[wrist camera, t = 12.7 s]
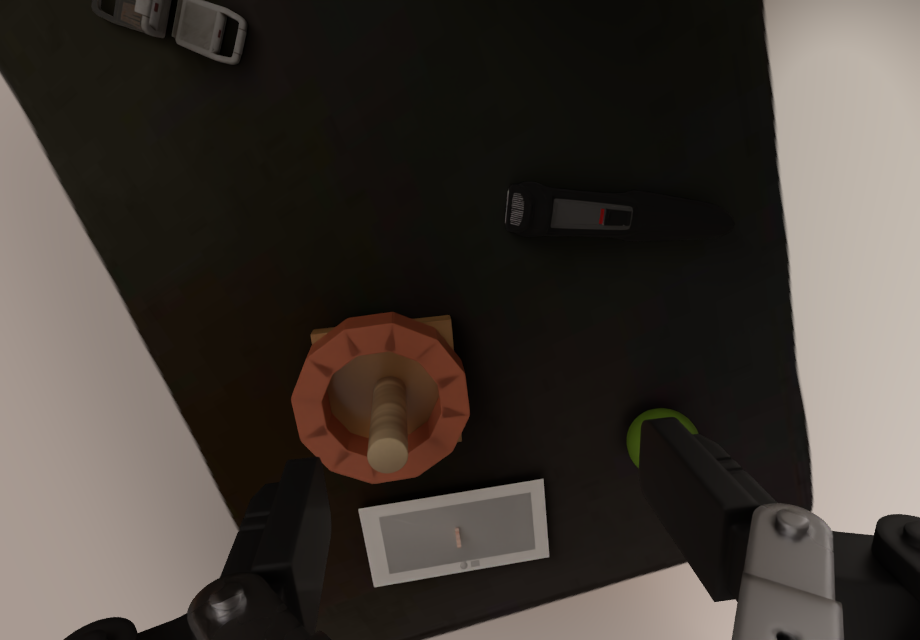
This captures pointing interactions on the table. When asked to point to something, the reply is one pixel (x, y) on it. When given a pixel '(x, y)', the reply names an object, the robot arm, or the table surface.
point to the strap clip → (180, 24)
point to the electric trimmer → (611, 215)
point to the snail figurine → (635, 427)
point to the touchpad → (455, 532)
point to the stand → (385, 398)
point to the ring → (374, 337)
